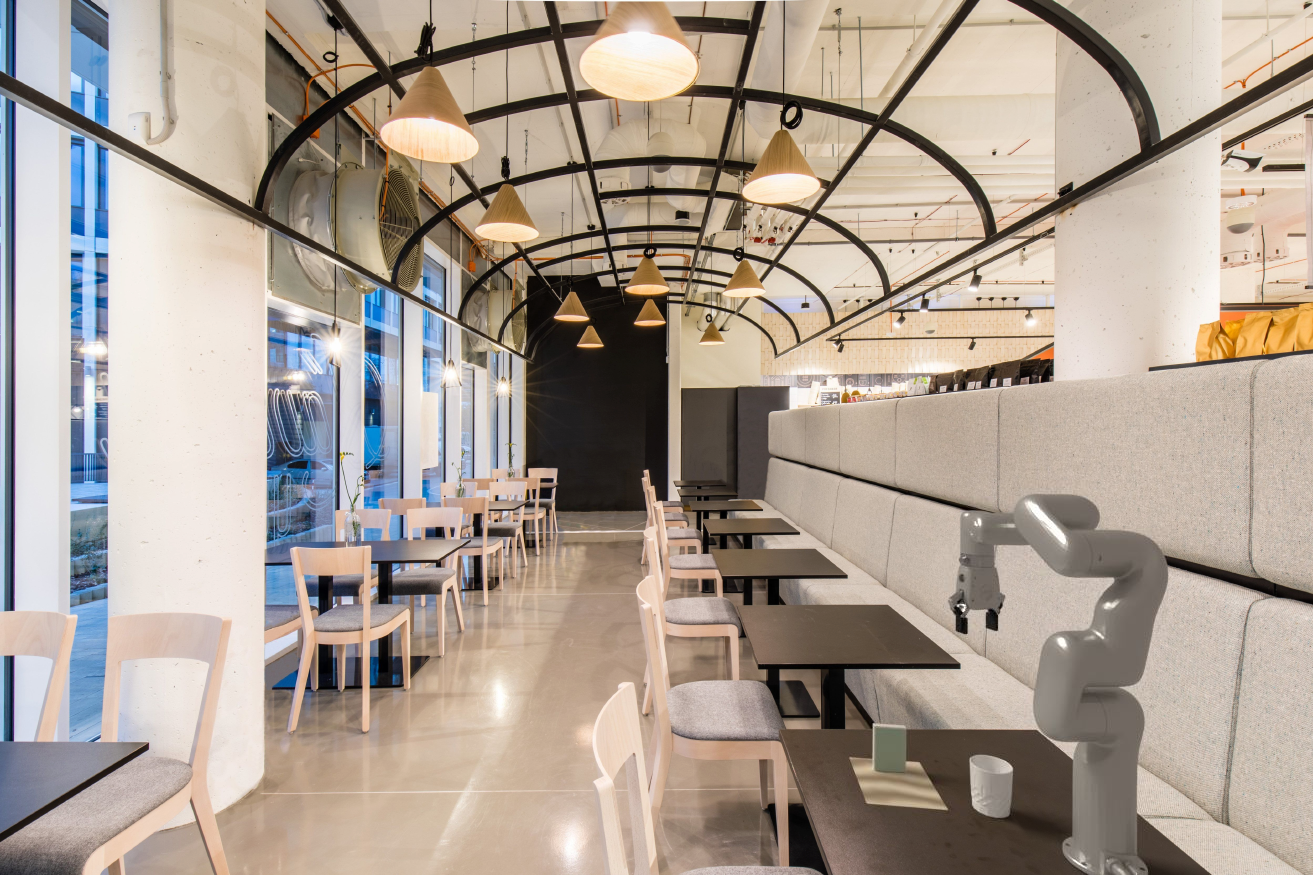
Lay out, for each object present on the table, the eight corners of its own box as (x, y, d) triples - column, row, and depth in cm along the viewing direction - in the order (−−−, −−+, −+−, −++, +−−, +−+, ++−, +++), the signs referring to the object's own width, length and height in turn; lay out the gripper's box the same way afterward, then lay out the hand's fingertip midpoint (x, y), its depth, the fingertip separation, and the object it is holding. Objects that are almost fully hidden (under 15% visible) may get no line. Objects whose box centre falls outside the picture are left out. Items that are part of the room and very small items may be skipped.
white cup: (1018, 826, 126) (1018, 775, 126) (975, 821, 127) (975, 770, 127) (1005, 805, 133) (1005, 756, 134) (964, 800, 135) (965, 752, 135)
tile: (906, 773, 144) (906, 728, 144) (874, 770, 145) (874, 726, 145) (904, 769, 146) (904, 725, 146) (872, 766, 147) (872, 723, 147)
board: (947, 814, 129) (948, 809, 129) (866, 808, 131) (866, 803, 131) (919, 766, 149) (919, 762, 149) (849, 761, 151) (849, 757, 151)
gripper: (962, 565, 150) (961, 638, 150) (1016, 562, 156) (1016, 632, 156) (937, 560, 157) (937, 630, 157) (990, 557, 163) (990, 624, 163)
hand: (976, 631), depth 156 cm, fingers open, 9 cm apart
